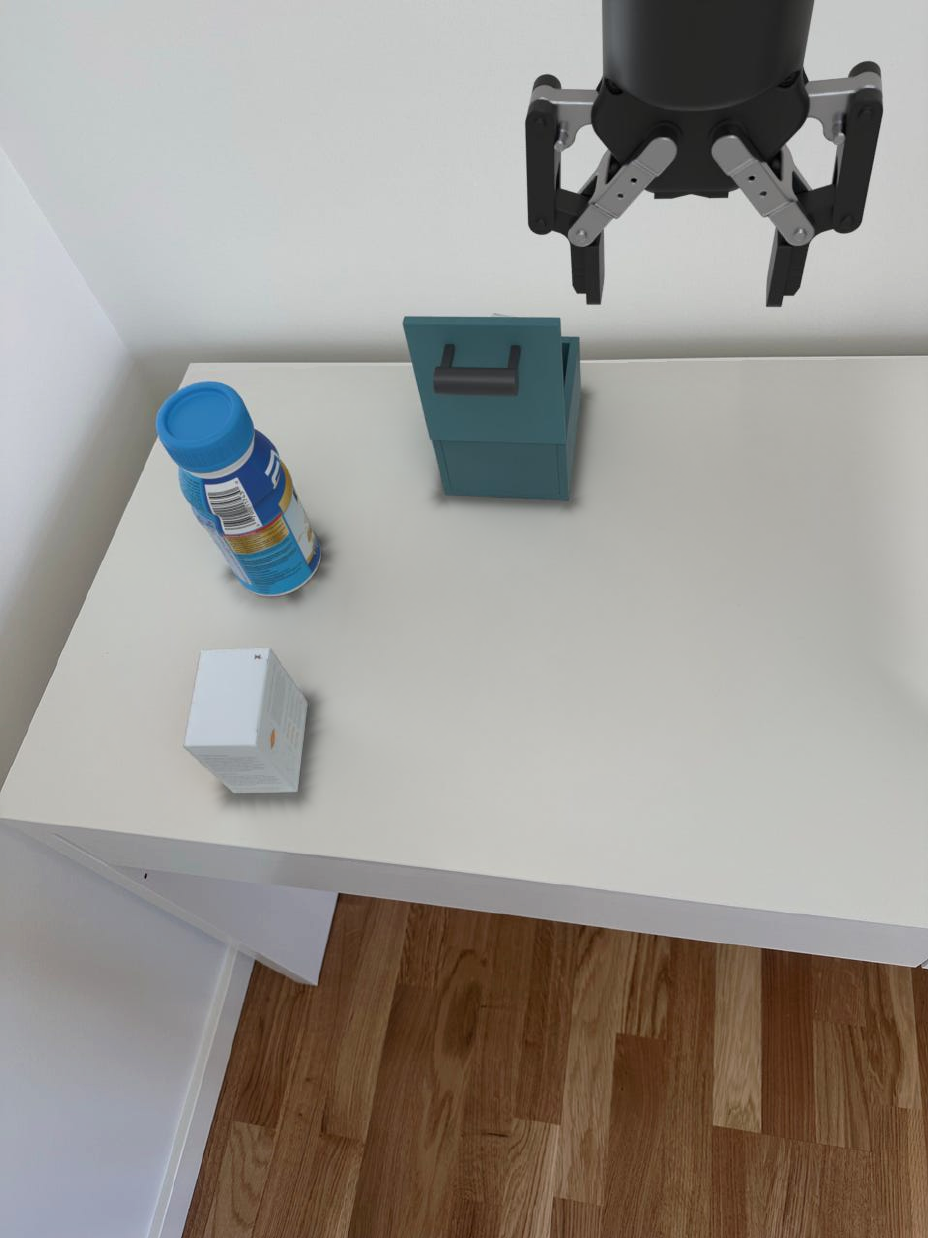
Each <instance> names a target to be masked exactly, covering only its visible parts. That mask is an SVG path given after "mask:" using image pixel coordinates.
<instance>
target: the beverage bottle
mask: <svg viewBox="0 0 928 1238" xmlns="http://www.w3.org/2000/svg"><path fill="white" fill-rule="evenodd" d="M155 429H156V430H155V431H156V433H157V436H158V439H159V441H160V443H161V444H162V446H163V447H164V449H165V451H166V452H167V454H168V456H169V457H170V459H171V460H172V461H173V462H174V463H175V465H177V466H178V467H177V468H178V469H177V476H178V482H179V487H180V490H181V493H182V495H183V497H184V498H185V500H186V501H187V502H188V504H190V507H191V511H192V513H193V515H194V517H195V518H196V520H197V521H198V523H199V524H200V525H201V527H202V528H203V529H204V530H206V532H207V533H208V535H209V536H210V538H211V539H212V541H213V542H214V544H215V545H216V547H217V548H218V550H219V551H220V553H221V554H222V556H223V558H224V559H225V561H226V562H227V564H228V565H229V566H230V569H231V570H232V572H233V573H234V576H235V577H236V579H237V580H238V582H239V583H240V585H242V586H243V587H244V588H245V589H246V590H247V591H249V592H251V593H252V594H256V595H258V596H262V597H279V596H283V595H288V594H291V593H293V592H295V591H297V590H299V589H301V587H304V585H305V584H307V583H308V582H309V581H310V579H312V578H313V576H314V575H315V573H316V572H317V570H318V568H319V565H320V563H321V559H322V546H321V543H320V540H319V538H318V536H317V533H316V532H315V530H314V528H313V526H312V524H311V522H310V520H309V517H308V515H307V513H306V511H305V509H304V506H303V504H302V502H301V500H300V498H299V495H298V493H297V491H296V489H295V486H294V484H293V478H292V476H291V473H290V471H289V469H288V468H287V466H286V464H285V462H283V460H282V459H281V457H280V454H279V451H278V449H277V448H276V446H275V444H274V443H273V442H272V441H271V440H270V439H269V438H268V437H267V436H266V435H265V434H264V433H262V432H261V431H259V430H258V429H256V428H255V424H254V421H253V419H252V416H251V414H250V412H249V409H248V408H247V406H246V404H245V401H244V399H243V398H242V397H241V395H240V394H239V393H238V392H237V390H236V389H234V388H233V387H232V386H230V385H228V384H226V383H223V382H220V381H213V380H212V381H211V380H210V381H209V380H206V381H199V382H194V383H191V384H188V385H186V386H183V387H182V388H180V389H178V390H176V391H175V392H174V393H172V394H171V395H170V396H169V397H168V398H167V399H165V401H164V402H163V404H162V405H161V406H160V408H159V410H158V412H157V415H156V417H155Z"/></svg>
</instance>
